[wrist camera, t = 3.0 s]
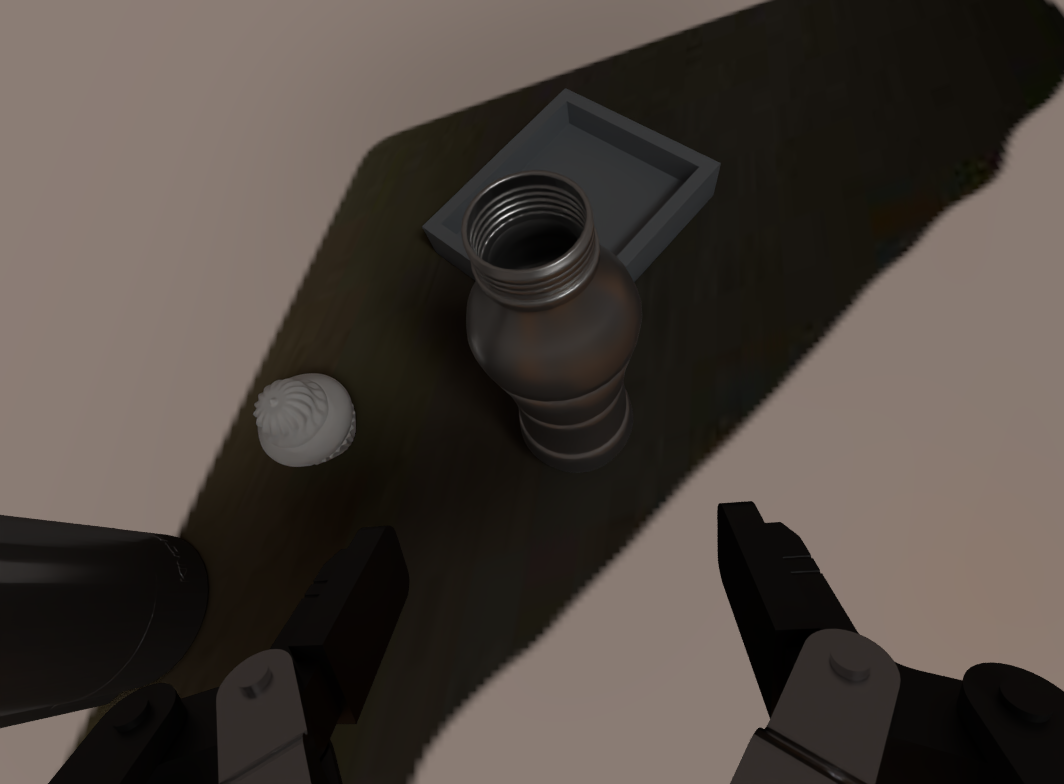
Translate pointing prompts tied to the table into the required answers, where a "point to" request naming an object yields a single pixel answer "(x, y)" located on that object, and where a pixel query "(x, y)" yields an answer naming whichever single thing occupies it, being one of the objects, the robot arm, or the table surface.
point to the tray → (596, 180)
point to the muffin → (305, 419)
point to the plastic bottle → (552, 316)
